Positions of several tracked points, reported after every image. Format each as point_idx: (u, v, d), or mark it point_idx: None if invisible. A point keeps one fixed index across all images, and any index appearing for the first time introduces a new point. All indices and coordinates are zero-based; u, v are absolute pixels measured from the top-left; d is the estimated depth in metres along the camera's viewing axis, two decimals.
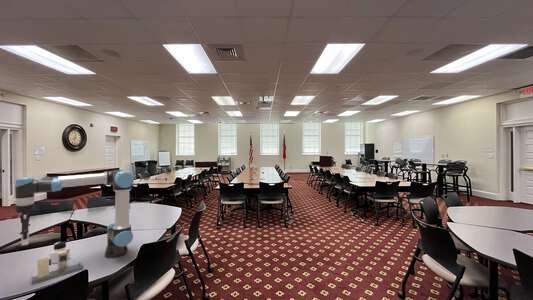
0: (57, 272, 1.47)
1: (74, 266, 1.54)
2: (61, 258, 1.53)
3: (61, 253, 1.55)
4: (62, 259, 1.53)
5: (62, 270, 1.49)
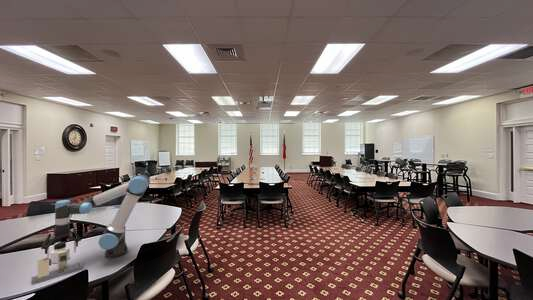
0: (57, 272, 1.47)
1: (74, 266, 1.54)
2: (61, 258, 1.53)
3: (61, 253, 1.55)
4: (62, 259, 1.53)
5: (62, 270, 1.49)
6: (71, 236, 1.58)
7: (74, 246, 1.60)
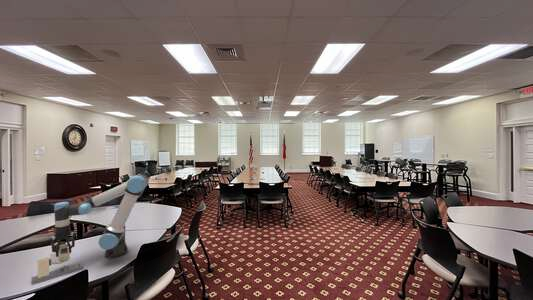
0: (57, 272, 1.47)
1: (74, 266, 1.54)
2: (62, 250, 1.53)
3: (62, 246, 1.55)
4: (63, 251, 1.53)
5: (62, 270, 1.49)
6: (68, 240, 1.57)
7: None
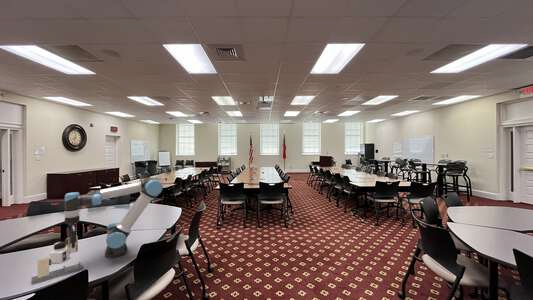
0: (57, 272, 1.47)
1: (74, 266, 1.54)
2: (65, 241, 1.51)
3: None
4: (65, 242, 1.50)
5: (62, 270, 1.49)
6: (70, 234, 1.50)
7: None
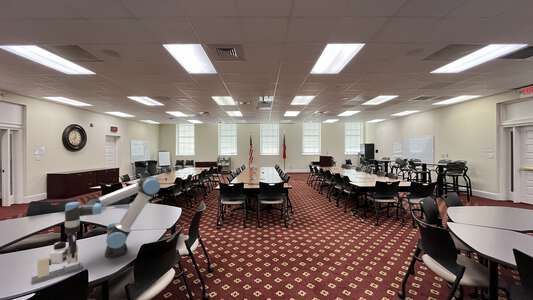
0: (57, 272, 1.47)
1: (74, 266, 1.54)
2: (65, 251, 1.51)
3: None
4: (65, 252, 1.50)
5: (62, 270, 1.49)
6: (70, 244, 1.50)
7: None
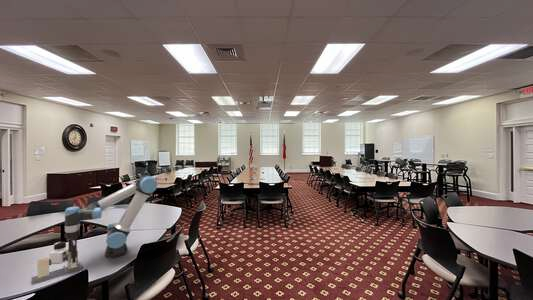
0: (57, 272, 1.47)
1: None
2: (65, 256, 1.51)
3: None
4: (65, 258, 1.50)
5: (62, 270, 1.49)
6: (71, 248, 1.49)
7: None
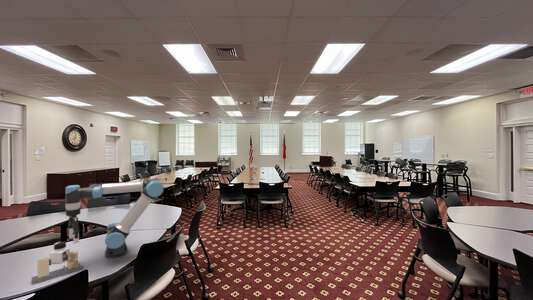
0: (57, 272, 1.47)
1: None
2: (65, 256, 1.51)
3: (72, 252, 1.53)
4: (65, 258, 1.50)
5: (62, 270, 1.49)
6: (72, 225, 1.50)
7: None
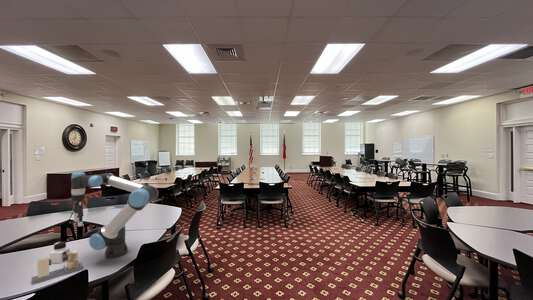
0: (57, 272, 1.47)
1: None
2: (65, 256, 1.51)
3: (72, 252, 1.53)
4: (65, 258, 1.50)
5: (62, 270, 1.49)
6: (77, 209, 1.61)
7: (78, 220, 1.60)
